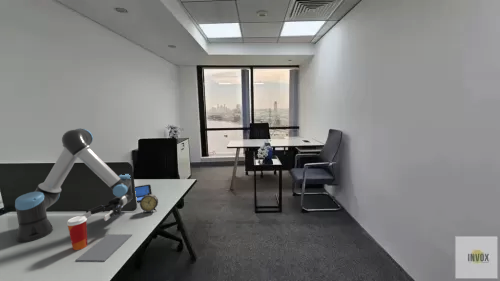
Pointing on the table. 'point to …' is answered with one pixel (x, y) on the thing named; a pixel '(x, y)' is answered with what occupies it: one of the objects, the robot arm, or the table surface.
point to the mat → (104, 247)
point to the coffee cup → (78, 232)
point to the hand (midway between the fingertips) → (93, 218)
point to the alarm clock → (149, 202)
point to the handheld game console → (142, 191)
